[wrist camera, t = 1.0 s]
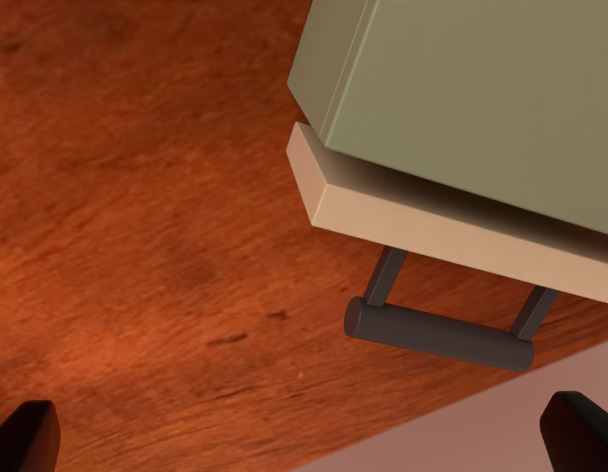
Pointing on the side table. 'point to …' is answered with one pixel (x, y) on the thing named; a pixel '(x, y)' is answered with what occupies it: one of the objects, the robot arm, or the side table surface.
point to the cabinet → (467, 95)
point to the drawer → (444, 251)
